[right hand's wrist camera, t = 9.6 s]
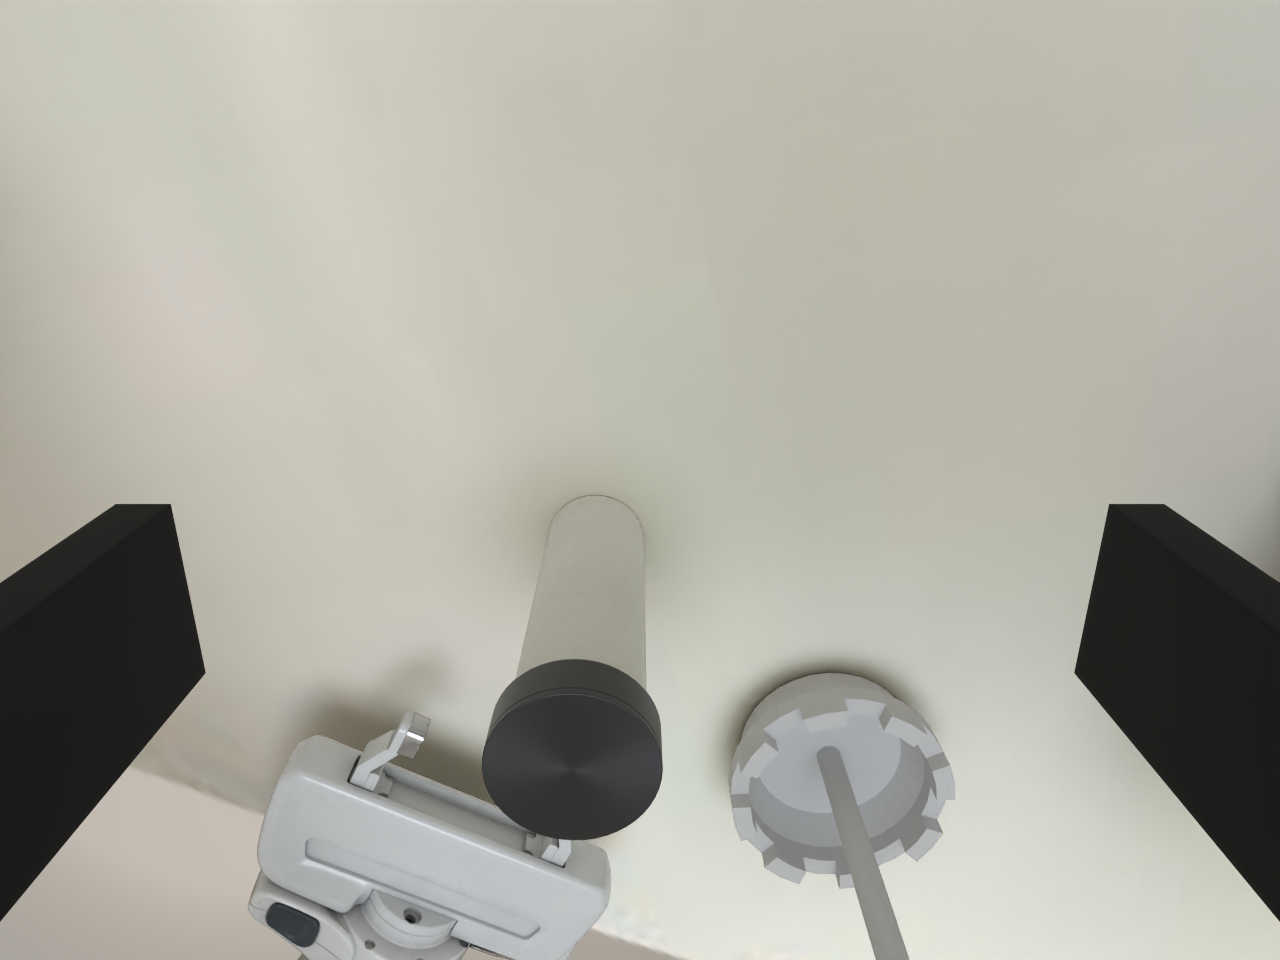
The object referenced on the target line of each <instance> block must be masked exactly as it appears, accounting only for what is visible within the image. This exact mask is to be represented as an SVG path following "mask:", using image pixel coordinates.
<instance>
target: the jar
mask: <svg viewBox="0 0 1280 960" xmlns="http://www.w3.org/2000/svg"><path fill="white" fill-rule="evenodd" d="M564 659H584V660H591V661H597V662H600V663H604V664H607V665H610V666H612V667H615V668H617V669H619V670H621V671H622V672H624V673H626V674H628V675H629V676H630V677H632V678H633V679H634V680H636V681H637V682H638V683H639V684H640V685H641V686H642V687H643V688H644V689H645V690H646V642H645V585H644V536H643V530H642V527H641V524H640V522H639V520H638V518H637V517H636V515H635V514H634V513H633V511H632V510H631V509H630V508H628V507H627V506H626V505H625V504H623V503H621V502H620V501H618V500H615V499H613V498H610V497H605V496H597V495H594V496H585V497H581V498H578V499H575V500H573V501H571V502H570V503H568V504H566V505H565V506H564V507H563V508H561V510H560V511H559V512H558V513H557V514H556V516H555V517H554V519H553V521H552V523H551V526H550V529H549V534H548V538H547V542H546V547H545V551H544V556H543V560H542V564H541V569H540V573H539V578H538V582H537V586H536V591H535V595H534V600H533V604H532V608H531V613H530V617H529V621H528V626H527V630H526V635H525V639H524V643H523V648H522V652H521V657H520V661H519V665H518V670H517V674H516V678H518V677H519V676H520V675H522V674H523V673H525V672H527V671H528V670H530V669H532V668H534V667H537V666H539V665H541V664H545V663H548V662H552V661H557V660H564Z"/></svg>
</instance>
